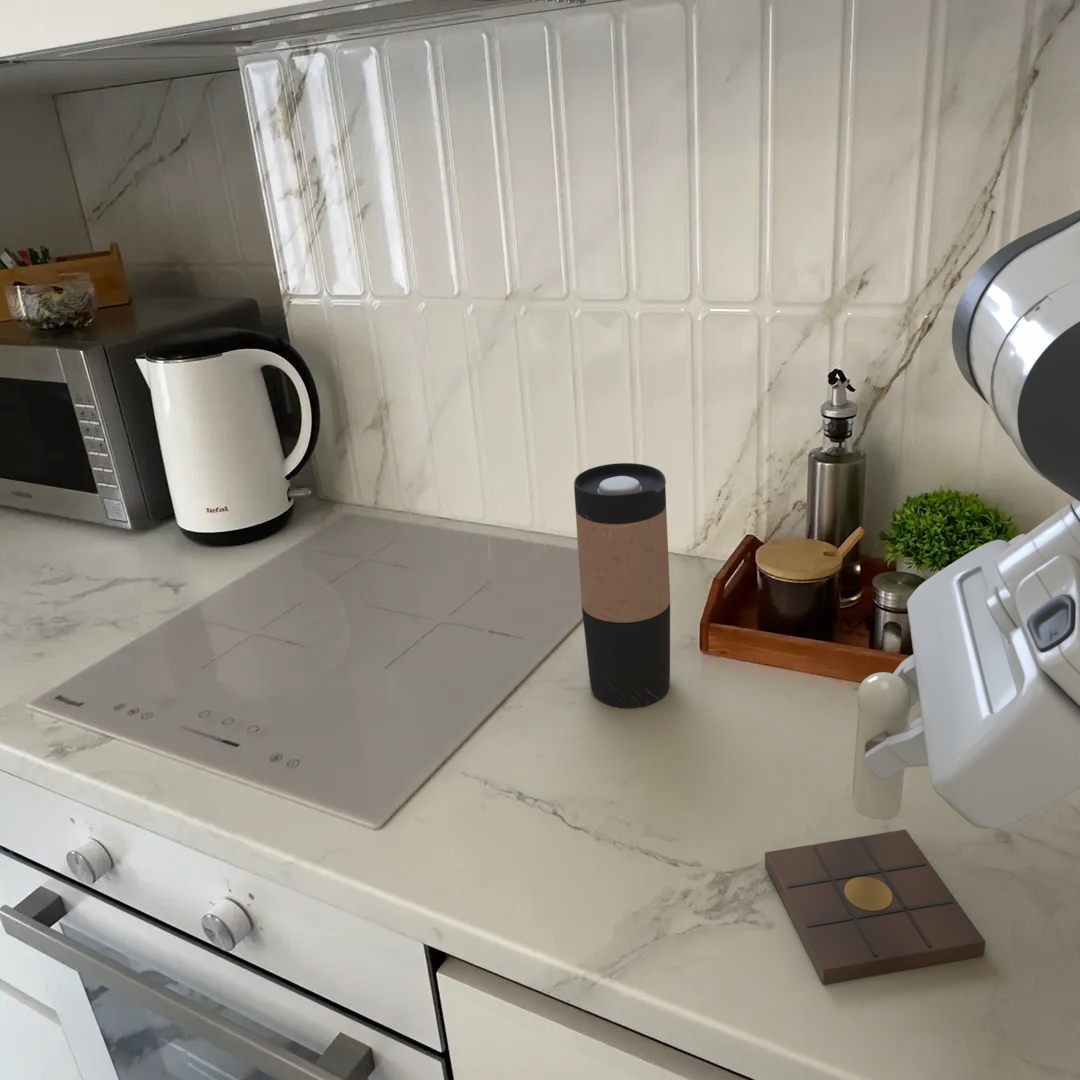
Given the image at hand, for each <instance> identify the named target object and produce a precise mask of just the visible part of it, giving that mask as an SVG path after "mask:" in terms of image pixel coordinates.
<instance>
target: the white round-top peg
mask: <svg viewBox="0 0 1080 1080" xmlns="http://www.w3.org/2000/svg"><path fill="white" fill-rule="evenodd" d="M856 703H857V717H856V731H855V747H854V762H853V777H852V778H853V779H852V780H853V781H852V794H851V795H852V796H851V797H852V798H851V803H852V806H853V808H854V809H855V810H856V811H857V813H859V814H860V815H862V816H864V817H866V818H868V819H872V820H879V821H885V820H890V819H893V818H895V817H897V816H898V815H899V814H900V812H901V810H902V802H903V791H904V781H905V769H906V768H905V769H903V770H902V771H900V772H898V773H897V774H895V775H894V776H892V777H890V778H888V779H881V778H879V777H877V776H876V775H875V774H874V773H873V772H872V771H871V770H870V769H869V768H868V767H867V766H866V765H865V759H864V757H865V756H864V745H865V743H866V742H868V741H869V740H873V739H874V738H875V737H876V736H877V735H878V734H880V733H882V732H883V731H886V732H887V733H889V734H890V735H891V736H894V735H897V734H901V733H904V732H907V731H909V725H910V714H911V713H910V712H911V710H912V707H913V706H912V693H911V690H910V688H909V686H908V685H907V683H906V682H905V681H904V680H903V679H902V678H900V677H899V676H897V675H895V674H893V673H891V672H888V671H878V672H875V673H872V674H870V675H868V676H866V677H865V678H863V680H862V681H861V683H860V684H859V686H858V688H857V691H856Z"/></svg>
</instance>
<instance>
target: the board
mask: <svg viewBox="0 0 1080 1080" xmlns="http://www.w3.org/2000/svg"><path fill="white" fill-rule="evenodd" d="M764 866H765V869H766V871H767V873H768V875H769V877H770V879H771V881H772V883H773V885H774V888H775V889H776V892H777V893H778V896H779V897H780V900H781V901H782V904H783V905H784V908H785V910H786V912H787V915H788V916H789V918H790V920H791V922H792V924H793V925H794V928H795V930H796V932H797V935H798V937H799V938H800V940H801V943H802V944H803V946H804V948H805V950H806V952H807V954H808V957H809V959H810V961H811V963H812V966H813V967H814V970H815V971H816V973H817V975H818V977H819V979H820V981H821V984H822V985H828V984H834V983H839V982H845V981H851V980H856V979H862V978H867V977H873V976H879V975H884V974H890V973H891V974H892V973H895V972H903V971H907V970H912V969H918V968H924V967H929V966H934V965H935V966H936V965H940V964H946V963H947V964H948V963H952V962H957V961H958V962H959V961H964V960H968V959H974V958H975V959H976V958H980V957H984V956H985V948H986V940H985V938H984V937H983V936H982V934H981V933H980V932H979V930H978V929H977V927H976V926H975V924H974V923H973V922H972V920H971V919H970V917H969V916H968V915H967V913H966V912H965V910H964V909H963V907H962V906H961V905H960V904H959V902H958V900H957V899H956V898H955V896H954V895H953V893H952V892H951V891H950V889H949V887H948V886H947V885H946V884H945V882H944V880H942V878H941V877H940V875H939V874H938V872H937V871H936V870H935V868H934V867H933V866H932V864H931V862H930V861H929V860H928V858H927V857H926V856H925V854H924V853H923V851H922V850H921V848H920V847H919V846H918V844H917V843H916V841H915V840H914V839H913V837H912V836H911V834H910V833H909V831H908V830H907V829H900V830H893V831H887V832H880V833H874V834H869V835H862V836H857V837H850V838H844V839H838V840H832V841H826V842H820V843H814V844H807V845H801V846H795V847H790V848H789V847H788V848H783V849H777V850H771V851H765V852H764Z"/></svg>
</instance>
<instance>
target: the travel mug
mask: <svg viewBox="0 0 1080 1080" xmlns="http://www.w3.org/2000/svg"><path fill="white" fill-rule="evenodd" d="M666 483H667V480H666V476H665V474H664V473H663V472H662V471H661V470H660V469H658V468H656V467H654V466H651V465H647V464H643V463H634V462H633V463H632V462H619V463H618V462H617V463H608V464H602V465H598V466H595V467H591V468H588V469H586V470H584V471H582V472H581V473H579V474H578V475H577V476H576V477H575V478H574V481H573V485H574V486H573V490H574V505H575V507H574V509H575V522H576V523H575V524H576V536H577V537H576V539H577V540H576V541H577V553H578V555H577V556H578V569H579V571H578V572H579V584H580V587H579V588H580V601H581V603H580V604H581V612H582V613H581V614H582V621H583V631H584V640H585V648H586V658H587V668H588V676H589V684H590V689H591V692H592V694H593V695H594V697H595V698H596V699H598V701H600V702H602V703H603V704H605V705H609V706H612V707H615V708H623V709H625V708H626V709H633V708H634V709H635V708H641V707H646V706H649V705H652V704H654V703H657V702H658V701H661V699H663V698H664V697H665V696H666V695H667V693H668V691H669V689H670V683H671V586H670V585H671V584H670V563H669V561H670V559H669V539H668V536H669V535H668V520H667V519H668V517H667V516H668V515H667V492H666V491H667V489H666Z"/></svg>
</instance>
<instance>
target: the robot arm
mask: <svg viewBox="0 0 1080 1080" xmlns="http://www.w3.org/2000/svg"><path fill="white" fill-rule="evenodd" d="M951 327H952V328H951V345H952V351H953V356H954V360H955V363H956V365H957V368H958V369H959V372H960V374H961V375H962V377H963V378H964V379H965V382H967V383H968V385H969V386H970V387H971V388H972V389H973V390H974V391H975V392H976V393H977V395H979V397H980V398H981V399H982V400H983V401H984V403H986V404H987V405H988V406H989V408H990V409H991V412H992V413H993V415H994V416H995V419H996V420H997V421H998V423H999V425H1000V426H1001V428H1002V430H1003V431H1004V433H1005V434H1006V435H1007V436H1008V437H1009V438H1010V439H1011V441H1012V443H1013V444H1014V446H1015V448H1016V449H1017V451H1018V452H1019V455H1020V456H1021V457H1022V458H1023V459H1024V461H1025V462H1026V463H1027V464H1028V466H1029V467H1030V468H1031V469H1032V470H1033V471H1034V472H1035V473H1036V474H1038V475H1039V476H1040V477H1042V478H1043V479H1045V480H1046V481H1048V482H1049V483H1050V484H1052V485H1053V486H1054V487H1057V488H1059V489H1060V490H1061V491H1062V492H1064V493H1066V494H1067V495H1069V496H1070V497H1072V498H1073V500H1072V501H1071V502H1069V503H1067V504H1066V505H1064V506H1063V507H1061V508H1060V509H1059V510H1057V511H1056V512H1055V513H1053V514H1052V515H1051V516H1049V517H1048V518H1046V519H1045V520H1044V521H1043V522H1041V523H1040V524H1038V525H1036V526H1035V527H1034V528H1033V529H1031V530H1030V531H1029V532H1027V533H1026V534H1025V533H1021V534H1019V535H1017V536H1015V537H1012V539H1010V540H1009V541H1006V540H1004V539H995V540H991V541H988V542H986V543H984V544H982V545H980V546H978V547H977V548H975V549H973V550H971V551H969V552H968V553H966V554H964V555H963V556H961V557H960V558H958V559H956V560H955V561H953V562H952V563H950V564H948V565H947V566H945V567H944V568H942V569H941V570H939V571H938V572H937V573H935V574H933V575H932V576H931V577H929V578H927V579H926V580H924V581H923V582H922V583H921V584H919V586H917V587H916V589H915V590H914V591H913V592H912V593H911V595H910V596H909V597H908V599H907V601H906V609H907V616H908V617H907V618H908V623H909V631H910V638H911V646H912V652H913V654H911V655H909V656H908V657H907V658H905V659H903V660H902V661H901V662H900V663H899V665H898V666H897V667H896V669H895V670H894V671H893V673H892V674H895V675H897V676H899V677H900V678H902V679H903V680H904V681H905V682H906V683H907V685H908V686H909V688H910V690H911V693H912V707H913V706H914V705H915V704H916V703H917V702H918V701H919V703H920V704H919V706H920V713H921V716H919V717H917V718H916V719H914V720H913V721H911V722H909V725H908V727H909V730H908V731H907V732H904V733H901V734H897V735H894V736H891V735H890V734H889V733H887V732H886V731H883V732H882V733H880V734H878V735H877V736H876V737H875V738H874V739H873V740H869V741H868V742H866V743H865V745H864V756H865V757H864V759H865V765H866V766H867V767H868V768H869V769H870V770H871V771H872V772H873V773H874V774H875V775H876V776H877V777H879V778H881V779H888V778H890V777H892V776H894V775H895V774H897V773H898V772H900V771H902V770H903V769H907V768H915V767H916V768H917V767H927V766H928V773H929V780H930V785H931V787H932V789H933V791H935V793H936V794H937V795H938V796H939V797H940V798H941V799H942V800H943V801H944V802H946V803H947V804H948V805H949V806H950V807H951V808H952V809H953V810H954V812H956V813H957V814H958V815H960V816H961V818H964V820H965V821H966V822H967V823H969V824H970V825H971V826H973V827H975V828H979V829H993V830H996V829H1003V828H1006V827H1009V826H1012V825H1015V824H1016V823H1018V822H1020V821H1022V820H1024V819H1027V818H1028V817H1031V816H1033V815H1034V814H1037V813H1038V812H1040V811H1041V810H1045V808H1047V807H1049V806H1051V805H1053V804H1055V803H1057V802H1058V801H1060V800H1061V799H1064V798H1065V797H1067V796H1069V795H1070V794H1072V793H1074V792H1076V791H1077V790H1079V789H1080V209H1078V210H1076V211H1074V212H1072V213H1070V214H1068V215H1065V216H1064V217H1061V218H1059V219H1057V220H1055V221H1052V222H1050V223H1048V224H1045V225H1043V226H1041V227H1038V228H1035V229H1034V230H1032V231H1030V232H1028V233H1025V234H1024V235H1022V236H1020V237H1018V238H1016V239H1014V240H1012V241H1011V242H1009V243H1008V244H1006V245H1005V246H1003V247H1002V248H1000V249H999V250H997V251H995V253H993V254H992V255H991V256H990V257H989V258H988V259H987V260H986V261H985V262H984V263H982V264H981V266H979V268H978V269H977V270H976V272H975V273H974V274H973V275H972V277H971V278H970V280H968V283H967V284H966V286H965V287H964V289H963V291H962V293H961V295H960V298H959V299H958V303H957V305H956V308H955V311H954V315H953V319H952V326H951Z"/></svg>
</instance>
